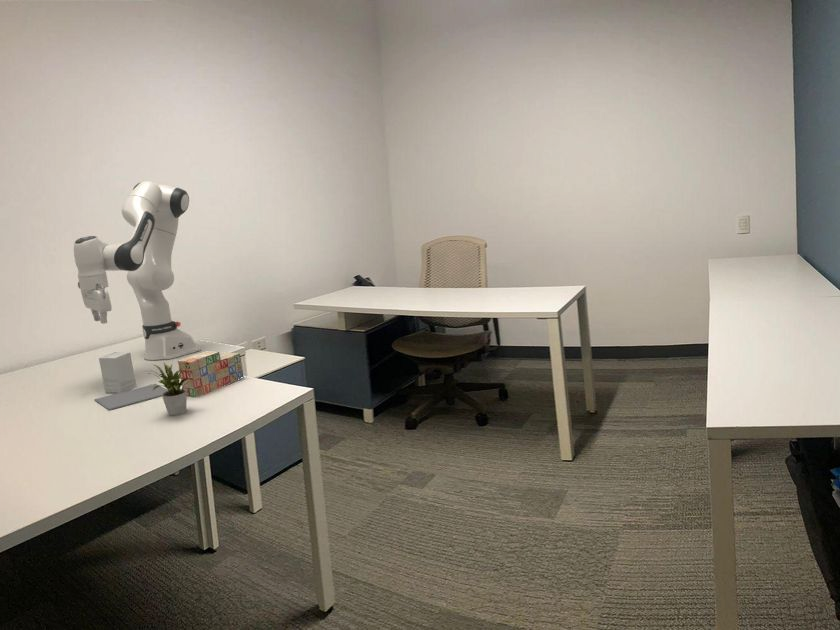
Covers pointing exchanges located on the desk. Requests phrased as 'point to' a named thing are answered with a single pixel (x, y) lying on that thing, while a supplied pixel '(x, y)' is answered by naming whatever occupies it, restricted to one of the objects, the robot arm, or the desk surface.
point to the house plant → (173, 390)
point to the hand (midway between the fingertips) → (100, 322)
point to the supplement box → (117, 372)
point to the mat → (131, 397)
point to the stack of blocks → (209, 371)
